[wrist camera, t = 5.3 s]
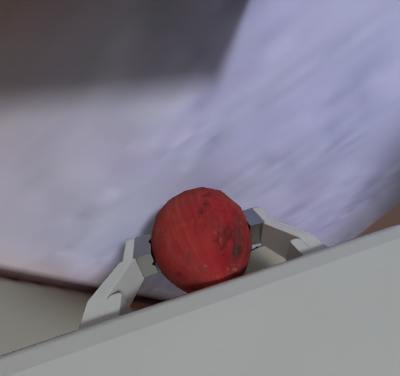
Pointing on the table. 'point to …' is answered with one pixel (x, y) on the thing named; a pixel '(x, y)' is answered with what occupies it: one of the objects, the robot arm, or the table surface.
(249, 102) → the table surface
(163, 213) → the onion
